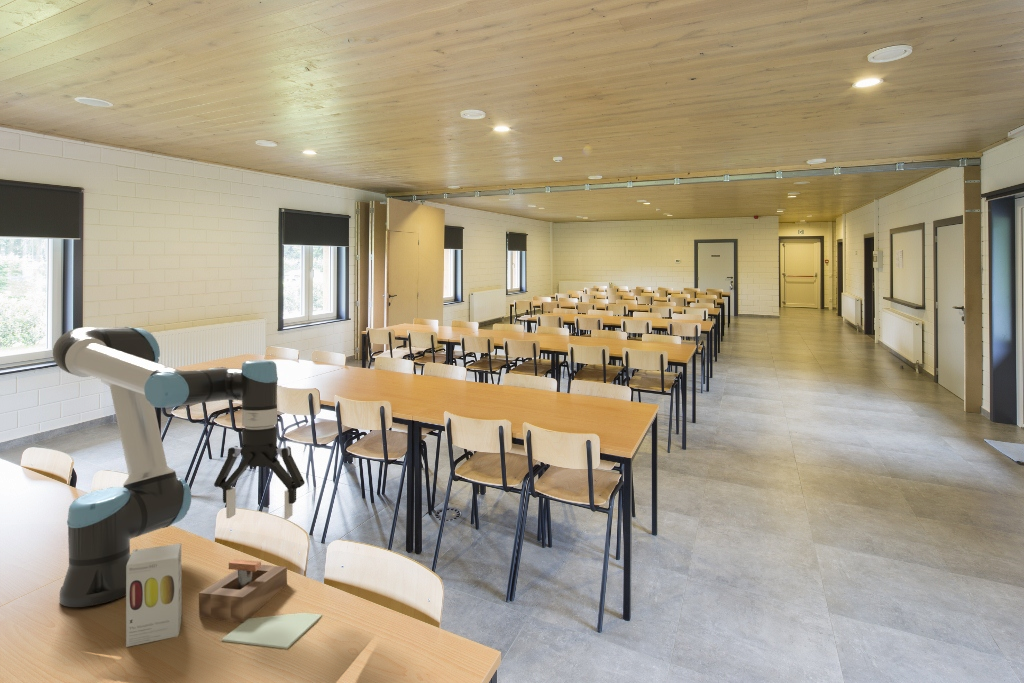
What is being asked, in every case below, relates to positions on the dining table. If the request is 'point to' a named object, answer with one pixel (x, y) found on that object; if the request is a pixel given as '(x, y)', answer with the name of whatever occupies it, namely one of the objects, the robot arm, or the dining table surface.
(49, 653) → the dining table surface
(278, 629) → the mat
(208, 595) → the brown hollow elongated block
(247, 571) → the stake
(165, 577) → the supplement box
